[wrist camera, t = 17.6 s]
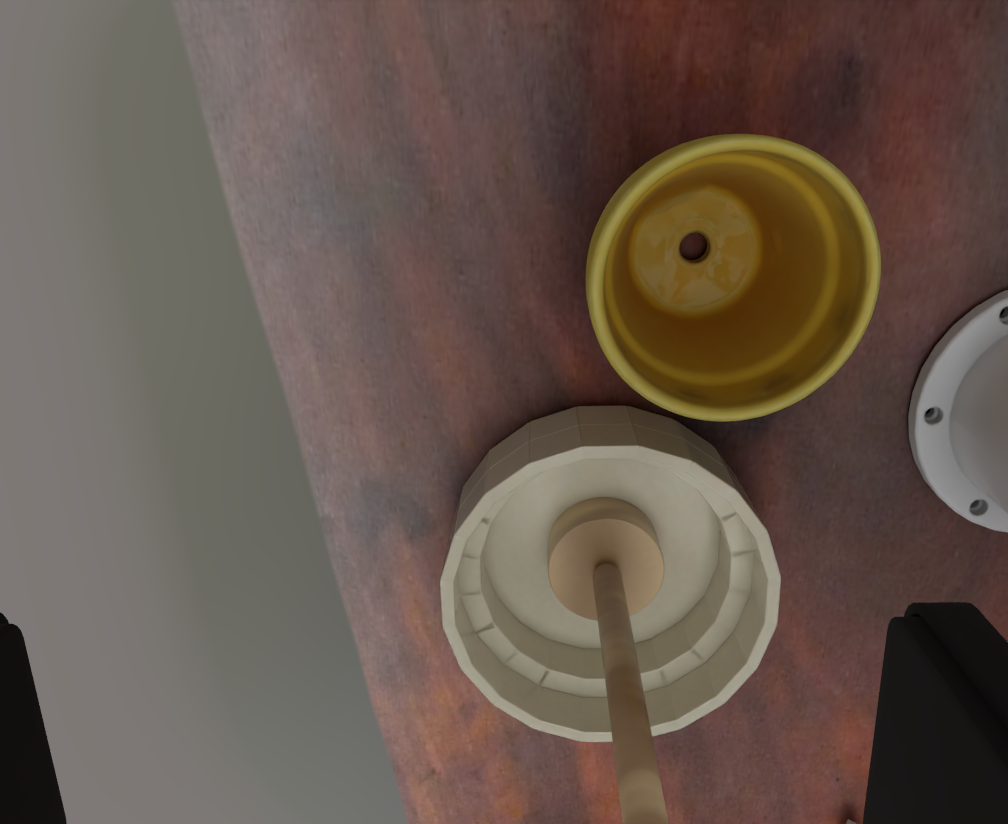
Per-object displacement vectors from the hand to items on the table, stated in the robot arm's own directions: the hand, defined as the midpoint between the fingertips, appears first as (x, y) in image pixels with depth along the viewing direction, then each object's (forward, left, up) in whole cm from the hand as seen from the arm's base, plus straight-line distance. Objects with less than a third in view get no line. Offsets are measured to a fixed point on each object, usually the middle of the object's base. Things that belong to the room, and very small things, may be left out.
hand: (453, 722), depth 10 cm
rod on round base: (-4, +15, -33) cm, 36 cm away
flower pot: (-8, 0, -34) cm, 34 cm away
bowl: (-4, +15, -33) cm, 37 cm away
